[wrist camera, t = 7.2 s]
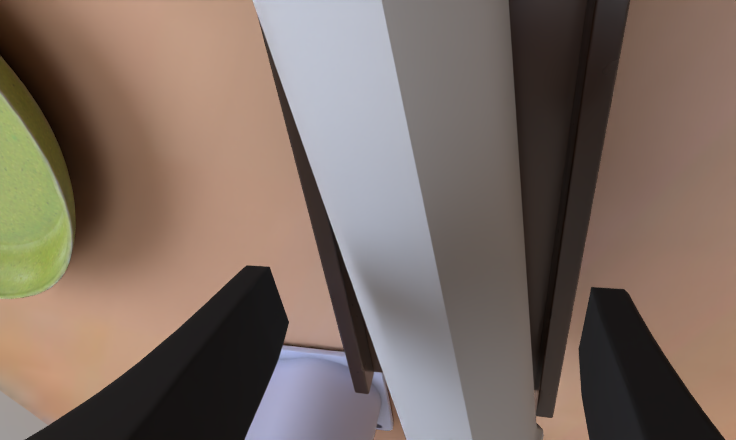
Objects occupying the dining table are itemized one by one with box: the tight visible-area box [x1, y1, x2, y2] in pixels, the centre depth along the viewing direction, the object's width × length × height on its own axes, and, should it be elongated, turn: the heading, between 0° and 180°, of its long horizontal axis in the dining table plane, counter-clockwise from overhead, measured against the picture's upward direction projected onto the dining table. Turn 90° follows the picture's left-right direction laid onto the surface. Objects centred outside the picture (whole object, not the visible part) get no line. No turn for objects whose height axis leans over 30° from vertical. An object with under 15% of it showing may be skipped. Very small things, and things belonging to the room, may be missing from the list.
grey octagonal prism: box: [253, 0, 544, 440], centre depth 13 cm, size 5×5×25 cm
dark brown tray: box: [257, 0, 630, 418], centre depth 16 cm, size 9×24×5 cm, turn 8°
